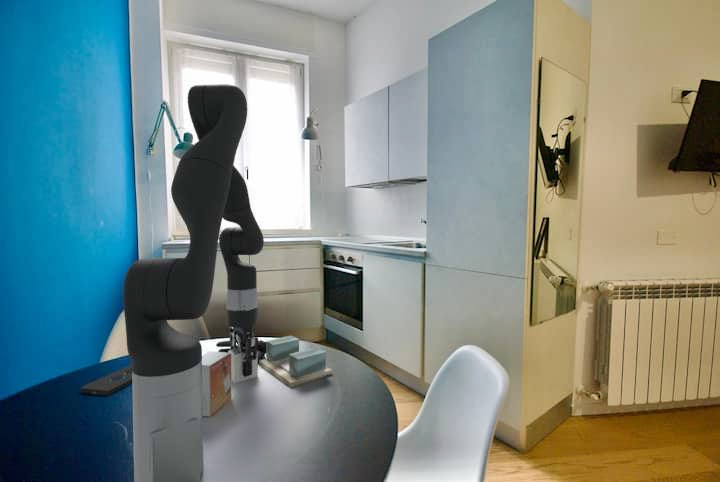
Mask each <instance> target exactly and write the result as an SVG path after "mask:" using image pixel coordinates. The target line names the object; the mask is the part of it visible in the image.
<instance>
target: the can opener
mask: <svg viewBox="0 0 720 482" xmlns="http://www.w3.org/2000/svg"><path fill="white" fill-rule="evenodd" d="M215 346H216V347H217V348H220V349H219V350H217V352H227V353H228V351H230V350H231V349H230V348H231V347H230V340H225V341H224V340H223V341H219V342H217V343H216V345H215ZM257 354H258V362H259V361H260V360H263V359H265V357H266V341H264V340H262V339H261V340H259V339H258V347H257Z"/></svg>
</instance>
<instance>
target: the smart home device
mask: <svg viewBox="0 0 720 482" xmlns="http://www.w3.org/2000/svg"><path fill="white" fill-rule="evenodd" d="M131 385H132V364H129V365H128V366H125V367H124V368H121V369H118V370H116V371H114V372H112V373H109V374H108V375H105V376H103V377H101V378H98V379H96V380H94V381H92V382H89V383H88V384H85V385H82V386H81V388H80V393H81V394H90V395H99V396H112V395H113V394H115V393H117V392H119V391H120V390H122V389H125V388H127V387H128V386H131Z"/></svg>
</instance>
